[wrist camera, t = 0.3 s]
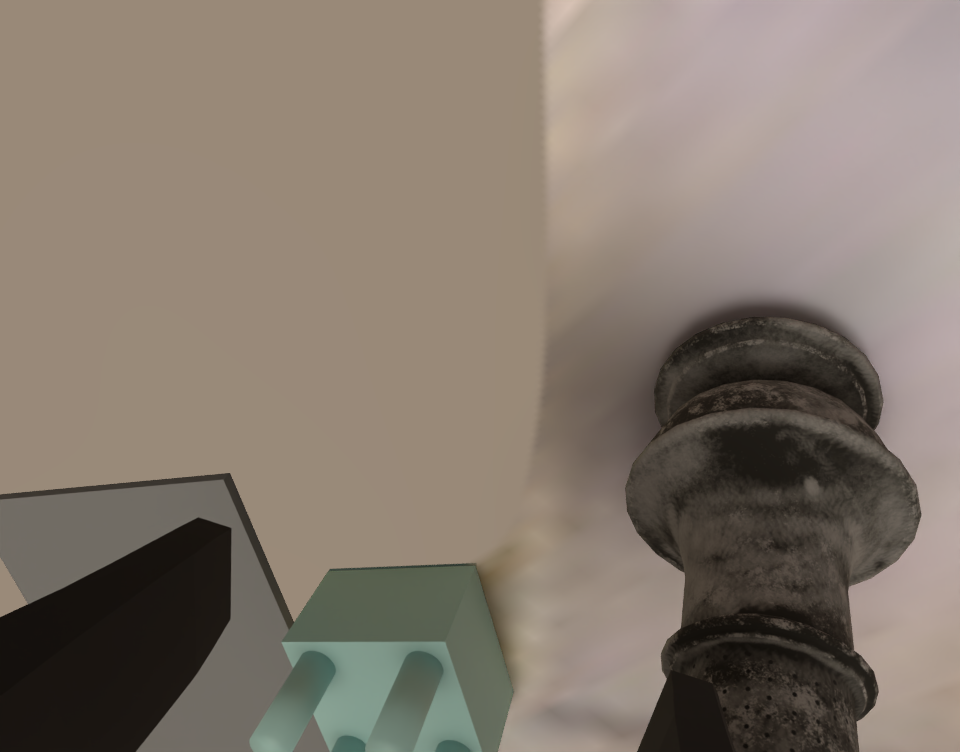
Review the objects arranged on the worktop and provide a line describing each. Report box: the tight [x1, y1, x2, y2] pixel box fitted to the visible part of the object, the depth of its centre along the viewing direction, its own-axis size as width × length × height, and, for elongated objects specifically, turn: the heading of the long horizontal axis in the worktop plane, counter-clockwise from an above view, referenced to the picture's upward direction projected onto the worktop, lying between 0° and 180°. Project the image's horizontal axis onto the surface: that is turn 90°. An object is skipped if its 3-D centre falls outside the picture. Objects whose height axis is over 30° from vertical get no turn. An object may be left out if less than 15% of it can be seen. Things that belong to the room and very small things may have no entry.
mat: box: [0, 473, 330, 752], centre depth 29 cm, size 14×12×1 cm
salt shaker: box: [625, 317, 921, 752], centre depth 14 cm, size 6×6×12 cm
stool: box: [249, 563, 514, 752], centre depth 23 cm, size 6×6×6 cm
